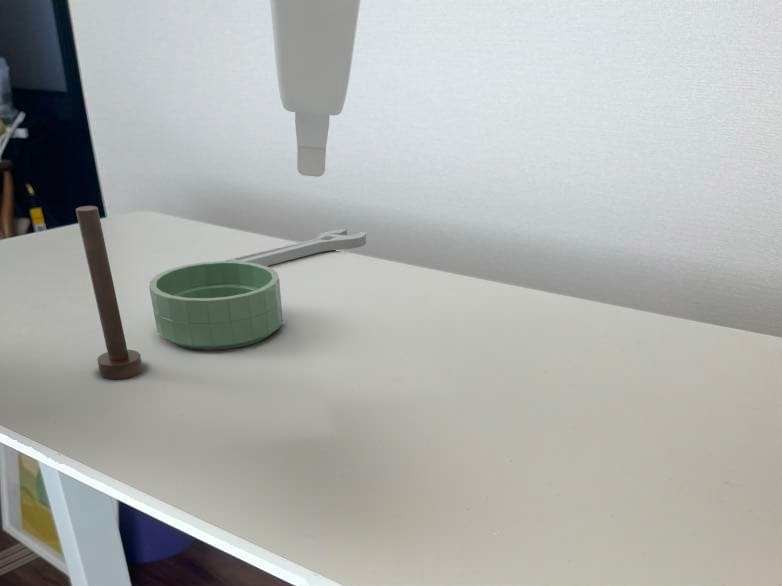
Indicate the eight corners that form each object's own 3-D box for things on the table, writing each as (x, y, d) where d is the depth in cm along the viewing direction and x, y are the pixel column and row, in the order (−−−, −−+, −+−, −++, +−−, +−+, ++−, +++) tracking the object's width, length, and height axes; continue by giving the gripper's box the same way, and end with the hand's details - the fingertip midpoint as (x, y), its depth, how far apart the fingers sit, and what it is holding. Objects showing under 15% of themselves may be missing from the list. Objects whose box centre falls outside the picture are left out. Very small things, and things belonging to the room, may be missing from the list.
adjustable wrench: (226, 277, 115) (225, 264, 114) (206, 267, 119) (204, 254, 118) (371, 245, 127) (371, 233, 126) (348, 237, 131) (348, 225, 130)
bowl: (157, 358, 90) (147, 305, 87) (159, 314, 102) (150, 265, 99) (289, 346, 93) (284, 294, 90) (276, 304, 105) (272, 257, 101)
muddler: (98, 381, 85) (59, 215, 76) (101, 365, 89) (64, 204, 79) (142, 377, 86) (109, 212, 77) (143, 361, 90) (111, 201, 80)
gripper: (272, -113, 56) (273, 109, 65) (253, -90, 41) (257, 196, 50) (364, -101, 57) (352, 116, 66) (379, -75, 41) (361, 204, 50)
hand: (311, 151), depth 58 cm, fingers open, 8 cm apart
